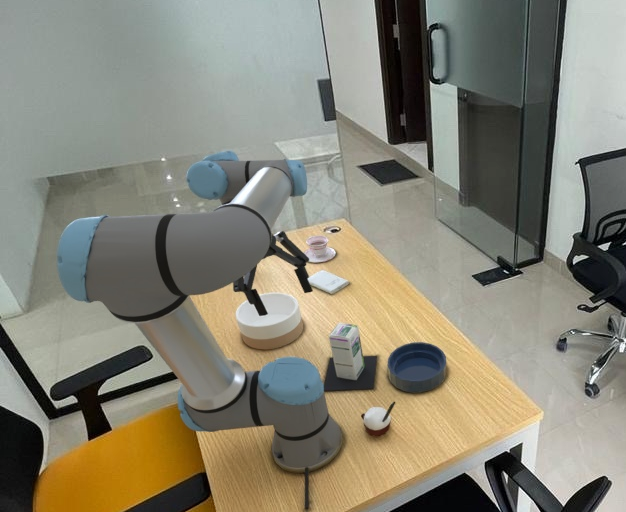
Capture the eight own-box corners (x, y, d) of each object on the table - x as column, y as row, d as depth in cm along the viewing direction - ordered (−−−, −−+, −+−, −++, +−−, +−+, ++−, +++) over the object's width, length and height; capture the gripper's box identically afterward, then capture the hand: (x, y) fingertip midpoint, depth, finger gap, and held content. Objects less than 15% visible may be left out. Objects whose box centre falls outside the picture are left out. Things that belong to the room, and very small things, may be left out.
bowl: (263, 310, 156) (256, 288, 152) (313, 318, 154) (309, 296, 149) (230, 344, 143) (222, 321, 138) (285, 354, 140) (278, 330, 135)
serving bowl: (447, 392, 130) (447, 379, 127) (387, 394, 128) (385, 382, 126) (445, 353, 143) (445, 341, 140) (390, 355, 141) (389, 343, 138)
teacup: (342, 255, 186) (340, 240, 183) (313, 266, 179) (310, 251, 175) (324, 244, 193) (322, 230, 189) (296, 254, 186) (293, 240, 182)
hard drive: (323, 273, 176) (349, 284, 171) (305, 283, 170) (331, 294, 165) (322, 269, 175) (348, 280, 170) (304, 279, 169) (330, 290, 164)
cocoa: (358, 426, 120) (352, 390, 113) (380, 413, 123) (376, 378, 116) (378, 451, 114) (373, 415, 107) (401, 437, 117) (398, 402, 110)
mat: (373, 389, 130) (373, 388, 130) (322, 391, 129) (322, 390, 129) (377, 356, 140) (376, 355, 140) (330, 358, 139) (329, 357, 139)
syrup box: (356, 381, 132) (350, 338, 123) (336, 377, 133) (327, 334, 124) (365, 366, 136) (359, 325, 128) (345, 363, 137) (337, 321, 129)
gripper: (205, 234, 104) (251, 324, 110) (300, 203, 122) (334, 282, 129) (190, 240, 109) (234, 326, 115) (283, 208, 127) (317, 285, 133)
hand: (287, 303), depth 122 cm, fingers open, 13 cm apart
